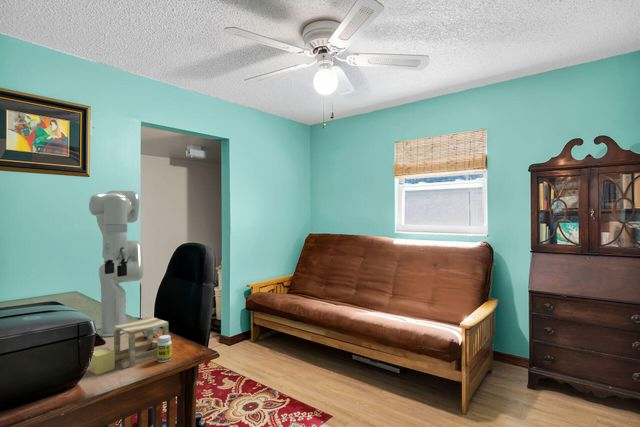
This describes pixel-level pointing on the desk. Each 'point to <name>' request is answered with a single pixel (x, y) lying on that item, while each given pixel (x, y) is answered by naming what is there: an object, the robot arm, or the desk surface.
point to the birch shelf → (133, 329)
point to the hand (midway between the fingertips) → (115, 274)
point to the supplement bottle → (164, 348)
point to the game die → (155, 332)
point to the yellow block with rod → (102, 361)
